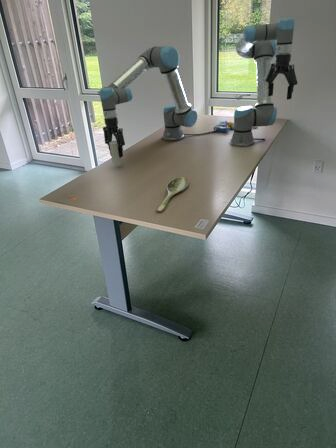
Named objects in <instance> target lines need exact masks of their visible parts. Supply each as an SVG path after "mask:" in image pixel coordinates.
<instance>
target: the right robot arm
mask: <svg viewBox="0 0 336 448" xmlns="http://www.w3.org/2000/svg"><path fill="white" fill-rule="evenodd" d="M294 30H295V18H294V17H285V18H284V17H283V18H279V19H278V22H276V23H275V22H273V23H263V24H251V25H246V26H244V28H243V33H242V34H243V35H242V36H243V37H241V38H240V39H239V40H238V41H237V42H236V45H235V51H236V53H237V55H238V56H239V57H241V58H244V59H249V60H250V59H253V62H254V63H255V64H256V104H255V105H254V107H253V106H252V105H244V106H240V107H237V108H236V109H235V110H234V113H233V123H234V129H233V133H232V136H231V138H230V145H232V146H235V147H250V146H252V145H254V143H255V141H265V140H266V138H259V137H258V138H256V137H255V138H254V136H253V132H252V131H253V130H252V129H253V128H252V127H258V128H259V127H260V128H261V127H269V126H273V125H274V124H275V122H276V119H277V115H278V108H277V107H276V106H275V105H274V102H272V96H274V85H275V83H274V81H275V80H276V78H277V77H278V75H280V74H281V75H283V76H284V77H285V79H286V81H287V83H288V86H287V92H286V100H287V101H288V100H291V99H292V97H293V93H294V86H297V85H298V79H297V75H296V71H295V64H294V63H293V64H290V62H291V61H292V54H291V53H292V51H293V39H294ZM274 57H275V60H274V63H271V62H272V61H273V59H274Z"/></svg>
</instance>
